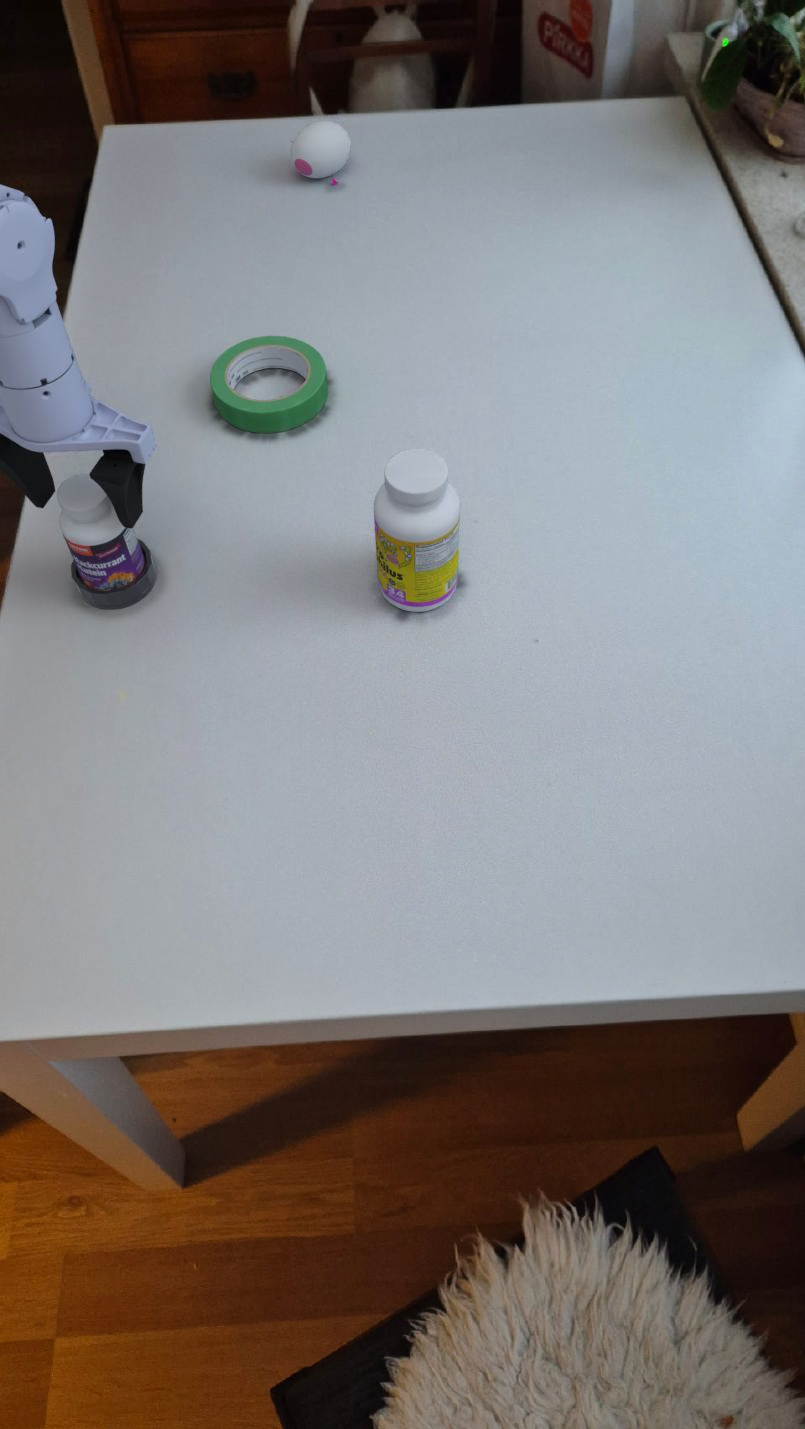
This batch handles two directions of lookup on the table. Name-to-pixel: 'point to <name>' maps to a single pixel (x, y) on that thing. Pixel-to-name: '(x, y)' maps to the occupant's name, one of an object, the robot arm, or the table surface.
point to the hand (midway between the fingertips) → (89, 508)
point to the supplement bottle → (417, 531)
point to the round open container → (124, 594)
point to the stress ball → (320, 150)
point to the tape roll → (276, 411)
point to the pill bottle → (97, 536)
